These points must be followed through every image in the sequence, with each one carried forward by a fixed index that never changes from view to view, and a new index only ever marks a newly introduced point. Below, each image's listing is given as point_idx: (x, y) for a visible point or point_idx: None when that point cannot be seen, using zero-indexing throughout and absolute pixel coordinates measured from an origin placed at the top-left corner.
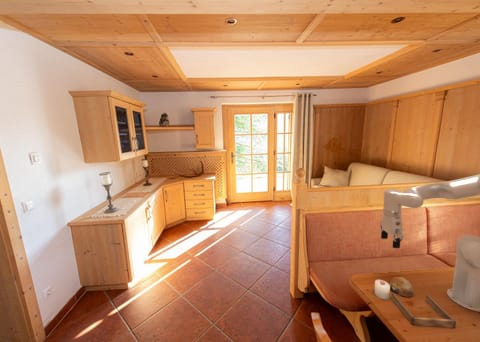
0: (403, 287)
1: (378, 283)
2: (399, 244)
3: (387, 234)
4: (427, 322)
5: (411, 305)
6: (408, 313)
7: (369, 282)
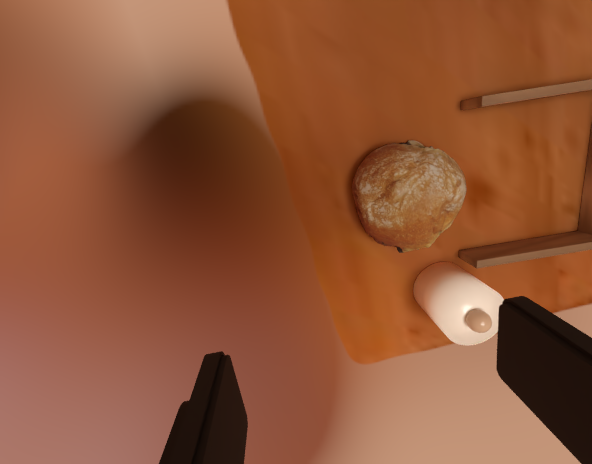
0: (458, 208)
1: (471, 333)
2: (576, 337)
3: (215, 429)
4: None
5: (493, 192)
6: (586, 249)
7: (365, 311)
